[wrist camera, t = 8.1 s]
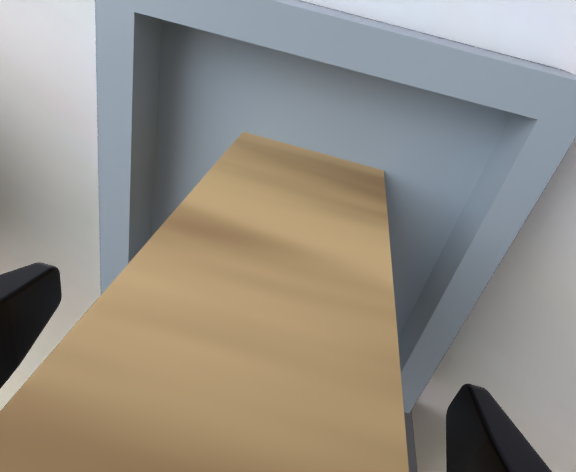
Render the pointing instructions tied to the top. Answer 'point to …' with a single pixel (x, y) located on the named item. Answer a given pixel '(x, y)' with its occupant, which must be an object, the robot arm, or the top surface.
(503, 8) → the top surface
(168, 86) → the tray
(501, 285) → the top surface
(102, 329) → the peg
